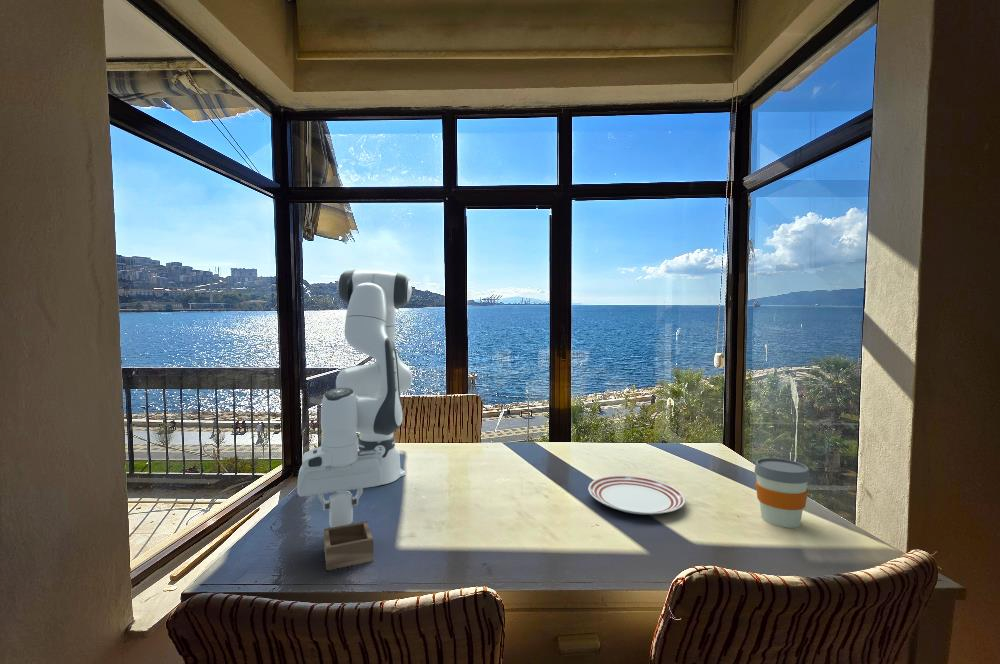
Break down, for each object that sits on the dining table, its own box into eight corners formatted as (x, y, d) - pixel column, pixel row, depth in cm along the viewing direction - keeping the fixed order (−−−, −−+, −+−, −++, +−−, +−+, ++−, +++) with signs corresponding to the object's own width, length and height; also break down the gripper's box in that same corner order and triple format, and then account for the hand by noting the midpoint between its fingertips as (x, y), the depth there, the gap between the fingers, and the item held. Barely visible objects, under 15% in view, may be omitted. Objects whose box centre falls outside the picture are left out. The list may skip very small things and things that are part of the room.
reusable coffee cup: (790, 535, 115) (791, 476, 115) (743, 515, 126) (744, 461, 126) (818, 524, 121) (820, 467, 121) (771, 506, 132) (772, 454, 132)
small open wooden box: (324, 549, 110) (323, 529, 110) (367, 541, 114) (367, 521, 114) (326, 571, 101) (326, 548, 100) (373, 560, 105) (373, 539, 104)
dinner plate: (687, 492, 143) (687, 482, 143) (682, 530, 119) (682, 518, 119) (599, 479, 155) (599, 469, 155) (577, 511, 130) (577, 500, 130)
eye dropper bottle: (331, 520, 120) (330, 475, 119) (354, 519, 120) (353, 474, 120) (327, 528, 115) (326, 482, 115) (350, 527, 116) (350, 481, 115)
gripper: (380, 445, 124) (380, 495, 124) (296, 454, 116) (298, 507, 117) (383, 452, 118) (384, 505, 119) (296, 462, 110) (297, 518, 111)
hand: (340, 506), depth 118 cm, fingers closed on eye dropper bottle, 6 cm apart
